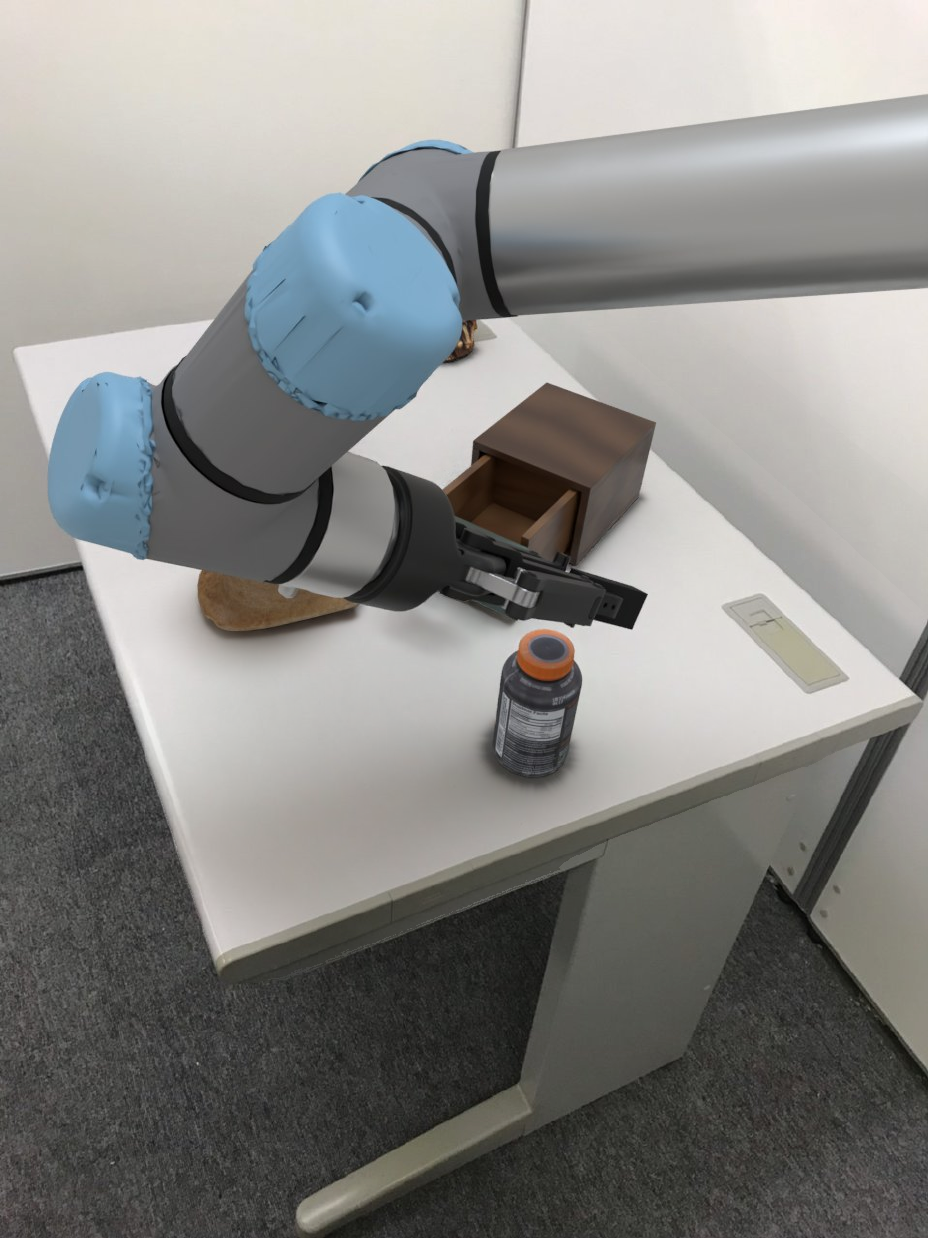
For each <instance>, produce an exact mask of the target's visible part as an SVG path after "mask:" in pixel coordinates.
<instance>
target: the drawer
mask: <svg viewBox="0 0 928 1238" xmlns="http://www.w3.org/2000/svg"><path fill="white" fill-rule="evenodd" d="M441 489H442V490H443V491H444V492H445V494H446V495H447V497H448V499H449V501H450V503H451V505H452V508H453V512H454V516H455V520H456V521H458V522H460V523H462V524H464V525H465V526H466V527H468V528H471V529H474V530H478V531H481V532H483V533H485V534H487V535H488V536H490V537H492V538H494V539H496V540H499V541H502V542H505V543H507V544H510V545H513V546H516V547H519V548H522V549H525V550H528V551H531V550H533V551H535V552H537V553H538V554H539V555H540V556H542V559H545V560H548V561H551V562H552V561H553V559H554V556H555V554H556V552H557V551H558V552H560V553H564V552H565V551H566V550H567V549H568V548H569V547H570V546H571V545H572V542H573V537H574V532H575V526H576V521H577V516H578V510H579V505H580V500H581V494H582V492H580V491H578V490H576V489H573V488H571V487H568V486H566V485H563V484H561V483H558V482H556V481H553V480H551V479H549V478H546V477H544V476H541V475H539V474H536V473H534V472H531V471H529V470H526V469H524V468H522V467H519V466H517V465H514V464H512V463H509V462H507V461H504V460H502V459H499V458H497V457H495V456H492V455H490V454H487V453H486V454H485V455H484V456H483V457H481V458H480V459H479V460H478V461H476V462H475V463H474V464H473V465H472V466H471V465H470V466H469V467H467V469H466V470H464V471H463V472H462V473H460V474H459V475H458V476H457V477H455V478H454V479H453V480H451V482H449V483H448V484H447V485H446V486H445V487H443V488H441ZM472 601H473V602H475V603H477V604H480V605H482V606H483V607H486V608H487V609H490V610H492V611H494V612H496V613H498V614H500V615H502V616H505V617H507V618H509V619H511V620H513V619H512V618H510V617H509V616H508V615H507V614H506V613H505V610H506V609H503V608H502V605H493V604H489V603H485V602H481V601H477V600H472Z"/></svg>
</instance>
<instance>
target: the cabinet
mask: <svg viewBox="0 0 928 1238" xmlns="http://www.w3.org/2000/svg"><path fill="white" fill-rule="evenodd" d="M656 425H657V422H656V421H654V420H650V419H648V418H645V417H642V416H640V415H637V414H634V413H631V412H630V411H626V410H624V409H622V408H618V407H615V406H613V405H610V404H607V403H604V402H601V401H600V400H599V401H598V400H597V399H593V398H591V397H588V396H585V395H583V394H580V393H578V392H574V391H572V390H569V389H566V388H564V387H560V386H558V385H555V384H553V383H549V382H545V383H544V384H543V385H541V386H540V387H539V388H538V389H536V390H535V391H534V392H532V393H531V394H530V395H529V396H528V397H526V398H525V399H524V400H523V401H521V402H519V404H517V405H516V406H515V407H513V408H512V409H511V410H509V412H507V413H506V414H505V415H504V416H502V417H501V418H499V419H498V420H497V421H496V422H494V423H493V424H492V425H491V426H490V427H488V428H487V429H486V430H485V431H483V432H482V433H481V434H479V435H478V436H477V437H476V438H475V439H473V440H472V451H471V461H470V466H472V465H473V464H474V463H475V462H476V461H478V460H479V459H480V458H481V457H483V456H484V455H485V454H486V453H487V454H490V455H492V456H495V457H497V458H499V459H502V460H504V461H507V462H509V463H512V464H514V465H517V466H519V467H522V468H524V469H526V470H529V471H531V472H534V473H536V474H539V475H541V476H544V477H546V478H549V479H551V480H553V481H556V482H558V483H561V484H563V485H566V486H568V487H571V488H573V489H576V490H578V491H580V492H582V494H581V500H580V505H579V510H578V516H577V521H576V526H575V532H574V537H573V542H572V545H571V546H570V547H569V548H568V549H567V550H566V551H565V552H564V553H563V554H565V555H567V556H569V557H571V559H570V562H569V565H570V564H571V565H572V566H577V565H578V564H579V563H580V562H581V561H582V559H583V558H585V556H586V555H587V554H588V553H589V552H590V551H591V550H592V548H594V546H595V545H596V544H597V543H598V542H599V541H600V540H601V539H602V538H603V537H604V535H605V534H607V532H608V531H609V530H611V528H612V527H613V526H614V525H615V523H616V522H617V521H618V520H619V519H620V518H621V517H622V516H623V515H624V513H626V511H627V510H629V508H630V507H631V506H632V505H633V504H634V503H635V502H636V500H637V499H639V497H640V493H641V489H642V484H643V481H644V477H645V472H646V468H647V463H648V460H649V455H650V451H651V447H652V443H653V438H654V434H655V430H656Z"/></svg>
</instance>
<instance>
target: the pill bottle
mask: <svg viewBox="0 0 928 1238" xmlns="http://www.w3.org/2000/svg"><path fill="white" fill-rule="evenodd" d="M575 653H576V650H575V646H574V644H573V641H572V640H571V639H570V638H569V637H567V636H566V635H565V634H564V633H562V632H559V631H557V630H553V629H547V628H541V629H540V628H539V629H535V630H531V631H529V632H527V633H525V634H524V635H523V636H522V637H521V639H520V640H519V643H518V649H517V650H516V651H514V652H513V653H511V654H510V655H509V656H508V658H507V659H506V660H505V662H504V663H503V666H502V669H501V673H500V682H499V688H498V695H497V704H496V711H495V720H494V728H493V737H492V750H493V753H494V756H495V758H496V759H497V761H498V763H500V765H502V766H503V768H505V769H507V770H508V771H510V772H512V773H514V774H517V775H519V776H523V777H527V778H539V777H545V776H548V775H550V774H552V773H554V772H556V771H557V770H558V769H560V768H561V767H562V766H563V764H564V763H565V761H566V759H567V757H568V753H569V750H570V744H571V740H572V734H573V730H574V725H575V720H576V715H577V711H578V710H577V709H578V707H579V700H580V696H581V691H582V686H583V675H582V671H581V668H580V667H579V664H578V663H577V662H576V660H575Z"/></svg>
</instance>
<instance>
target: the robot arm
mask: <svg viewBox="0 0 928 1238" xmlns="http://www.w3.org/2000/svg"><path fill="white" fill-rule="evenodd" d="M923 289H928V93H925V94H924V93H923V94H918V95H908V96H902V97H893V98H887V99H878V100H870V101H863V102H855V103H847V104H840V105H834V106H826V107H825V106H824V107H818V108H810V109H803V110H802V109H801V110H794V111H787V112H779V113H773V114H772V113H771V114H763V115H757V116H756V115H755V116H749V117H741V118H734V119H726V120H719V121H709V122H704V123H703V122H702V123H695V124H687V125H681V126H679V125H678V126H671V127H665V128H657V129H656V128H655V129H650V130H641V131H634V132H626V133H619V134H610V135H603V136H595V137H588V138H587V137H586V138H580V139H572V140H565V141H557V142H549V143H542V144H534V145H526V146H520V147H511V148H504V149H503V148H502V149H501V150H488V151H487V150H486V151H476V152H475V151H472V150H470V149H468V148H466V147H465V146H462V145H461V144H458V143H455V142H452V141H450V140H445V139H444V140H443V139H424V140H419V141H416V142H412V143H410V144H408V145H405V146H404V147H402V148H400V149H397V150H394V151H392V152H389V153H387V154H386V155H385V156H384V157H383V158H382V159H380V160H379V161H378V162H375V163H372V164H371V166H370V167H369V168H368V169H367V170H366V171H365V172H364V174H362V175H361V176H360V178H359V180H357V182H356V184H354V185H353V187H352V188H350V189H349V190H348V191H347V192H346V193H342V192H333V193H327V194H325V195H323V196H320V197H318V198H317V199H315V200H313V201H312V202H311V203H309V204H308V205H307V206H306V207H305V208H304V209H303V210H302V211H301V213H300V214H299V215H298V216H297V217H296V218H295V220H293V222H292V223H291V224H289V225H287V226H286V227H285V229H284V230H282V232H280V234H279V235H278V236H277V237H276V239H274V240H273V241H271V242H270V243H268V244H267V245H265V246H264V247H263V249H262V251H261V253H260V254H259V255H258V256H257V257H256V259H255V260H254V262H253V264H252V270H251V271H250V272H249V274H248V275H247V276H246V278H245V279H244V280H243V282H242V283H241V284H240V285H239V287H238V288H237V289H236V291H235V292H234V293H233V294H232V295H231V297H230V298H229V300H228V301H227V302H226V303H225V305H224V306H223V308H221V310H220V311H219V312H218V313H217V315H216V317H215V318H214V319H213V321H212V322H211V323H210V325H209V326H208V327H207V328H206V330H205V331H204V332H203V333H202V334H201V336H200V337H199V338H198V340H197V341H196V343H195V344H194V345H193V346H192V348H191V349H190V350H189V352H188V353H187V354H185V356H183V357H181V360H179V362H178V363H177V364H176V365H174V366H173V367H172V368H171V369H170V370H169V371H168V373H166V375H165V376H164V377H163V379H161V382H160V383H158V384H157V385H155V384H153V383H151V382H148V379H145V378H144V377H142V376H135V377H133V376H128V375H122V374H119V373H116V372H112V371H103V372H102V371H101V372H99V373H97V374H95V375H93V376H91V377H87V378H86V379H84V380H82V381H81V382H80V383H79V384H78V385H77V386H76V388H75V389H74V390H73V392H72V393H71V395H70V396H69V398H68V400H67V402H66V404H65V406H64V408H63V411H62V413H61V414H60V417H59V420H58V422H57V425H56V428H55V431H54V435H53V439H52V442H51V447H50V452H49V459H48V465H47V501H48V505H49V509H50V512H51V514H52V517H53V519H54V521H55V523H56V524H57V526H58V527H59V528H60V529H61V530H62V531H63V532H64V533H66V534H67V535H69V536H70V537H71V538H74V539H76V540H79V541H83V542H85V543H86V542H87V543H91V544H94V545H98V546H101V547H106V548H109V549H113V550H116V551H120V552H123V553H127V554H131V555H132V556H133V558H135V559H136V560H140V561H144V560H150V561H156V562H158V563H159V562H160V563H165V564H170V565H174V566H179V567H185V568H189V569H193V570H200V571H202V570H204V571H209V572H214V573H219V574H224V575H229V576H234V577H239V578H244V579H249V580H254V581H258V582H267V583H272V584H278V585H279V588H278V591H279V593H280V594H281V595H283V596H284V597H285V598H292V597H294V596H295V595H296V593H297V590H298V588H299V589H304V590H308V591H310V592H312V593H317V594H321V595H326V596H330V597H335V598H344V599H346V600H347V601H350V602H353V603H358V604H359V605H363V606H367V607H371V608H372V607H373V608H376V609H381V610H386V611H390V612H396V613H400V612H407V611H412V610H413V609H416V608H419V606H421V605H423V604H424V603H426V602H427V601H428V600H429V599H430V598H431V597H432V596H433V595H435V594H436V593H437V592H438V593H439V594H440V595H442V596H444V597H446V598H449V599H451V600H455V601H459V602H463V603H466V602H469V601H473V600H477V601H481V602H485V603H489V604H493V605H502V608H503V609H506V610H505V613H506V614H507V615H508V616H509V617H510V618H509V617H508V618H509V619H511V618H512V619H511V620H514V621H518V620H519V621H523V622H524V621H527V620H531V619H533V620H540V621H546V622H547V621H548V622H555V623H563V624H564V625H566V626H567V627H570V628H571V629H574V628H575V626H582V627H591V626H592V624H593V622H594V621H595V622H598V623H599V622H600V623H602V624H603V623H604V624H607V625H611V626H616V627H620V628H624V629H627V630H631V631H632V630H633V629H634V627H635V624H636V622H637V620H638V618H639V615H640V613H641V611H642V609H643V606H644V605H645V603H646V600H647V598H648V594H649V593H647V592H645V591H643V590H641V589H640V588H637V587H635V586H633V585H631V584H630V585H629V584H627V583H623V582H620V581H616V580H614V579H610V578H607V577H604V576H601V575H597V574H593V573H592V572H591V573H590V572H588V571H584V570H581V569H577V568H574V567H571V568H570V570H569V572H568V571H567V569H568V566H569V565H570V563H569V562H570V559H571V557H569V556H567V555H565V554H563V553H560V552H558V551H557V552H556V554H555V556H554V559H553V561H552V562H551V561H548V560H545V559H542V556H540V555H539V554H538V553H537V552H535V551H533V550H531V551H528V550H525V549H522V548H519V547H516V546H513V545H510V544H507V543H505V542H502V541H499V540H496V539H494V538H492V537H490V536H488V535H487V534H485V533H483V532H481V531H478V530H474V529H471V528H468V527H466V526H465V525H464V524H462V523H460V522H458V521H456V520H455V516H454V512H453V508H452V505H451V503H450V501H449V499H448V497H447V495H446V494H445V492H444V491H443V490H442V489H443V488H441V487H440V486H439V485H438V484H436V483H435V482H433V481H431V480H429V479H427V478H426V479H425V478H424V477H420V476H417V475H415V474H411V473H409V472H406V471H403V470H400V469H397V468H394V467H391V466H389V465H388V466H387V465H381V464H380V463H379V462H377V461H376V460H373V459H372V458H371V459H370V458H368V457H365V456H362V455H360V454H356V453H353V452H351V451H350V450H352V449H353V448H354V446H356V445H357V444H358V443H359V442H360V441H362V440H363V439H364V438H365V437H366V436H367V435H368V434H370V433H371V432H372V431H373V430H374V429H375V428H376V427H377V426H379V424H381V423H383V421H384V420H386V419H387V417H389V416H390V415H391V414H392V413H393V412H394V411H395V410H401V409H403V408H404V407H405V406H407V405H408V404H409V403H410V402H411V401H413V400H414V399H415V398H416V397H417V395H418V393H419V391H420V389H421V387H422V386H423V385H424V384H425V383H426V382H427V381H428V379H429V378H431V376H432V375H433V373H434V372H435V371H436V370H437V369H438V368H439V367H440V366H441V365H442V364H444V363H443V362H444V361H445V360H446V359H447V358H448V357H449V356H450V354H451V353H452V352H453V350H454V349H455V347H456V345H457V343H458V341H459V339H460V336H461V332H462V321H466V320H477V321H478V320H479V321H480V320H492V319H507V318H516V317H519V316H531V315H532V316H533V315H534V316H535V315H549V314H562V313H563V314H564V313H577V312H592V311H594V312H595V311H609V310H623V309H624V310H625V309H637V308H638V309H639V308H652V307H653V308H654V307H666V306H682V305H683V306H684V305H695V304H696V305H697V304H698V305H699V304H711V303H726V302H727V303H728V302H729V303H730V302H743V301H758V300H771V299H788V298H802V297H817V296H818V297H819V296H831V295H833V296H834V295H846V294H847V295H848V294H861V293H863V294H864V293H876V292H891V291H893V292H894V291H906V290H907V291H908V290H923Z"/></svg>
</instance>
